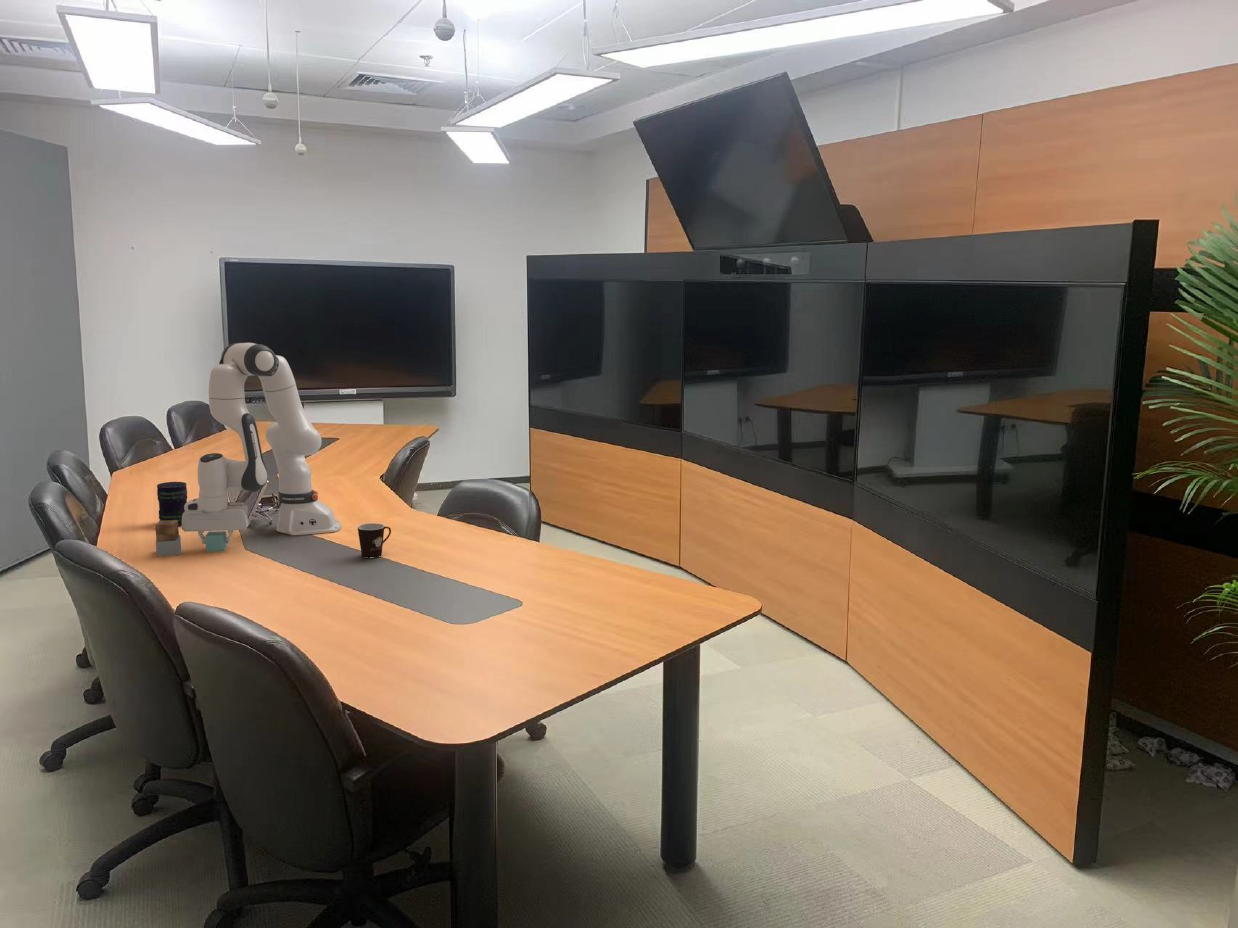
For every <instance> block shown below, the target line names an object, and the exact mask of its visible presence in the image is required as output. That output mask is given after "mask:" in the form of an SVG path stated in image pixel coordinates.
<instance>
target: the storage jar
mask: <svg viewBox="0 0 1238 928" xmlns="http://www.w3.org/2000/svg"><path fill="white" fill-rule="evenodd" d="M156 488H157V489H156V491H157V492H156V493H157V494H156V495H157V497H156V498H157V501H158V508H159V509H158V519H159V520H158V522H159V521H163V520H178V528H182V527H181V526H182V515H183V513H184V512H185V509H184V505H185V504H186V503H187V502H188V490H187V489H188V488H187V482H183V481H168V482H167V481H166V482H161V483H158V484H157V485H156Z"/></svg>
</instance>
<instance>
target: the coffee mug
mask: <svg viewBox="0 0 1238 928" xmlns="http://www.w3.org/2000/svg"><path fill="white" fill-rule="evenodd" d="M386 529H387V530H388V535H387V536H386V538H384V536H385V535H384V534H385V530H386ZM357 533H358V539H359V547H360V552H361V553H360V554H361V557H362V558H363V557H368V558H370V557H378V558H380V557H379V556H381V555H382V556H383V546H384V543H385V542H386V541H388V539H389V538H390V536H391V534H392V529H391V527H389V526H385V525H384V524H382V523H377V522H374V523H372V522H371V523H362V524H359V525H358V526H357ZM382 556H381V557H382ZM368 558H367V559H368Z"/></svg>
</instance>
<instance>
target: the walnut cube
mask: <svg viewBox="0 0 1238 928" xmlns="http://www.w3.org/2000/svg"><path fill="white" fill-rule="evenodd" d="M179 535H180V532H179V527H178V520H163V521H159V520H158V522H157V523H156V524H155V537H156V540H155V542H156V541H175V540H176V539H177V538H178V537H179Z"/></svg>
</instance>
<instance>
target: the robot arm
mask: <svg viewBox="0 0 1238 928" xmlns="http://www.w3.org/2000/svg"><path fill="white" fill-rule="evenodd" d="M252 376H254V377H255V376H256V377H258V378H259V380H260V384H261V387H262V392H263V395H264V398H265V402H266V406H267V410H268V412H269V413H270V415H271V416H272V417H273V419H275V422H273V423H271V424H269V426H268V427H267V429H266V431H265V438H266V439H265V441H266V442H267V443H268V445H269V446H270V448H271V451H272V454H273V456H274V460H275V463H276V467H277V472H278V473H277V474H278V488H279V490H278V493H277V502H278V504H277V505H278V507H279V509H278V510H279V511H278V512H279V513H278V519H277V520H278V521H277V525H276V529H275V530H276V531H277V532H279V533H282V534H287V535H290V536H302V535H304V536H305V535H312V534H313V535H315V534H327V533H330V534H331V533H336V532H338V531H339V530H340V529H342V522H341V521H339V520H337V519H336V517H335V514H334V511H333V509H332V508H331V507H329V506H327V504H324V503H323V502H322V501H320V500H319V495H318V494H319V492H318V491H317V490H314V489H312V471H311V467H310V466H309V464H308V463H307V460H306V458H305V457H306V456H307V457H308V456H312V455H315V454H316V453H318V452H319V450H320V449H321V447H322V436H321V434H320V432H319V431H317V429H316V428H315V427H314V425H313V424H312V422H311V420H310V418H309V417H308V415H307V413H306V411H305V409H304V407H303V404H302V402H301V398H300V395H299V391H298V387H297V383H296V379H295V377H294V374H293V371H292V369H291V367H290V365H289V362H288V361H287V359H286V358H285V357H284V356H282V355H277V354H275V352H274V351H273V350H272V349H271V348H270V347H268V346H267V345H264V344H262V343H261V344H258V343H254V342H234V343H231V344H229V345H227V346H226V347H224V349H223V351H222V352H221V356H220V360H219V363H218V364H217V365H215V366H214V367H213V368H212V369H211V371H210V375H209V380H208V381H209V382H208V407H209V412H210V414H211V416H212V418H214V420H216V422H218V423H220V424H221V425H224V426H225V427H228V428H229V429H231V430H232V431H234V432H236V434H237V435H238V436H239V438H240V439H241V444H242V450H243V455H244V456H243V457H244V461H243V460H238V459H230V458H227V457H225V456H224V455H223V454H222V453H219V452H212V453H206V454H204V455H201V457H200V458H199V460H198V464H197V483H198V486H199V492H198V497H197V498H194V499H190V500H187V503H186V504H185V505H184V509H185V512H184V513H183V515H182V527H181V529H182V531H183V532H185V533H186V532H197V534H198V535H197V536H199V537H200V539H201V541H202V543H201V544H202V545H206V540H205V536H206V535H204V532H210V531H227V534H228V536H227V537H225V538H224V539H225V543H227V544H230V543H231V536H232V535H233V533H234V531H244V530H246V529H247V528H248V527H249V520H248V514H249V507H248V505H247V504H246V503H244V502H242V501H240V502H239V501H238V502H235V501H234V502H229V492H228V489H232V490H233V489H234V490H243V491H248V492H252V493H255V492H258V491H260V490H261V489H262V488H263V487H265V485H266V484H267V482H268V479H269V473H268V470H267V466H266V464H265V461H264V457H263V452H262V447H261V441H260V437H259V431H258V427H257V422H256V419H255V418H254V416H253V415H252V414H250V411H249V410H248V407H247V404H246V398H245V397H246V396H245V395H246V394H245V383H246V380H247V379H248V377H252Z"/></svg>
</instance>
